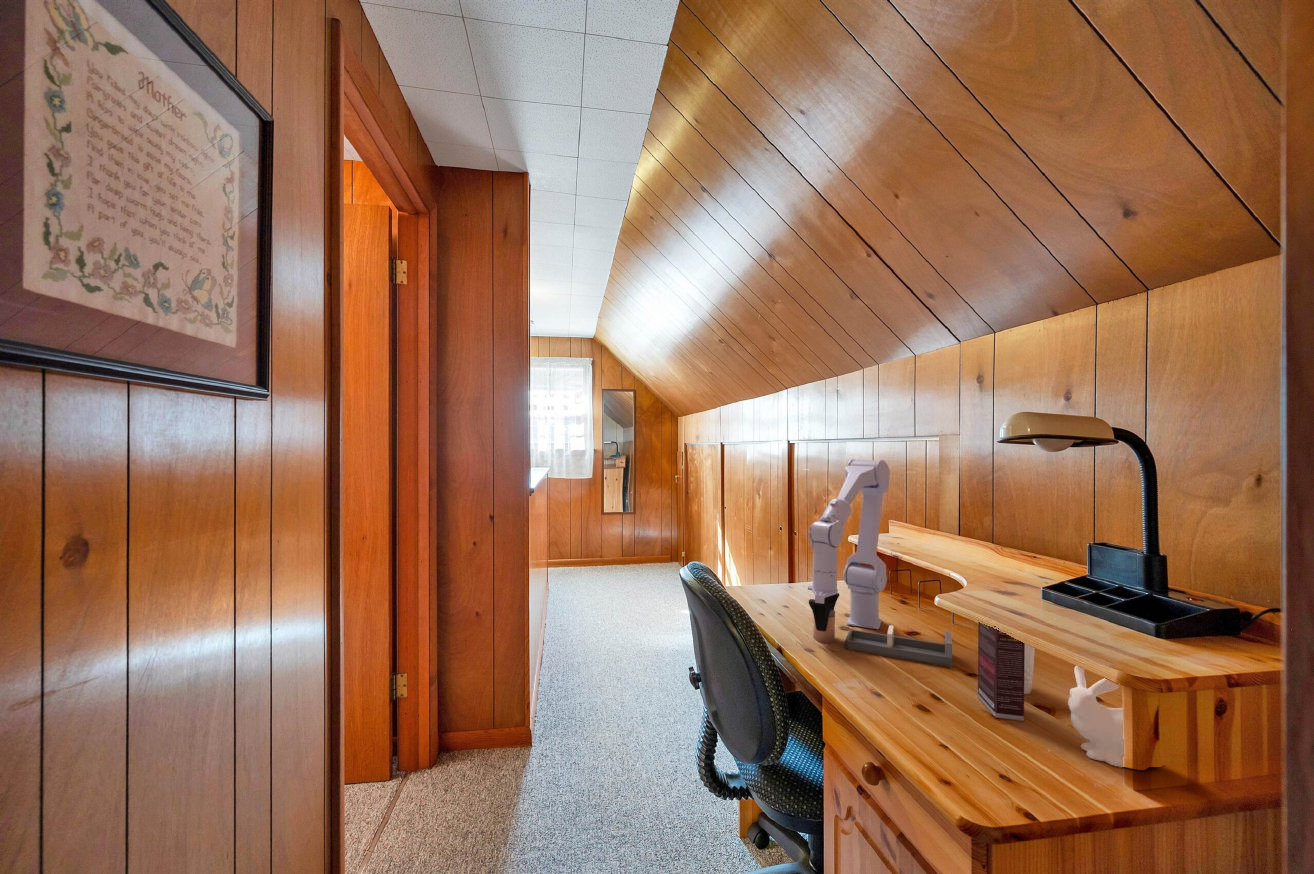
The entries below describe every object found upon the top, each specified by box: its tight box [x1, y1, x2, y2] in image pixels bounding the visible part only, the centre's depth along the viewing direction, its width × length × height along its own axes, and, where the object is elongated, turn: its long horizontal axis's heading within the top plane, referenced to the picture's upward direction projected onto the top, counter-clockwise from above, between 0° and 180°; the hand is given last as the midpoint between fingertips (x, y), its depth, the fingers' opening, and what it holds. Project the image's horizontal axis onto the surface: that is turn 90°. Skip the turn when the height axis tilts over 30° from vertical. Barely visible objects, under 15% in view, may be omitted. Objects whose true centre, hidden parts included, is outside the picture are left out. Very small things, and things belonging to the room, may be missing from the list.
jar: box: [812, 609, 836, 644], centre depth 133 cm, size 5×5×7 cm
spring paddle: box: [886, 624, 895, 647], centre depth 126 cm, size 7×1×4 cm, turn 153°
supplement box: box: [977, 622, 1025, 722], centre depth 98 cm, size 9×5×16 cm, turn 168°
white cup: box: [1024, 644, 1036, 695], centre depth 107 cm, size 8×8×10 cm
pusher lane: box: [844, 628, 953, 668], centre depth 126 cm, size 9×22×5 cm, turn 63°
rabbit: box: [1067, 665, 1124, 767], centre depth 83 cm, size 12×9×12 cm
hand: (824, 626), depth 133 cm, fingers open, 7 cm apart
